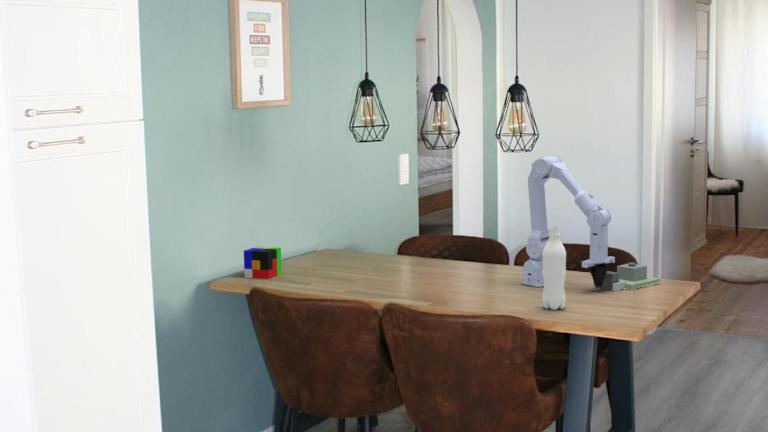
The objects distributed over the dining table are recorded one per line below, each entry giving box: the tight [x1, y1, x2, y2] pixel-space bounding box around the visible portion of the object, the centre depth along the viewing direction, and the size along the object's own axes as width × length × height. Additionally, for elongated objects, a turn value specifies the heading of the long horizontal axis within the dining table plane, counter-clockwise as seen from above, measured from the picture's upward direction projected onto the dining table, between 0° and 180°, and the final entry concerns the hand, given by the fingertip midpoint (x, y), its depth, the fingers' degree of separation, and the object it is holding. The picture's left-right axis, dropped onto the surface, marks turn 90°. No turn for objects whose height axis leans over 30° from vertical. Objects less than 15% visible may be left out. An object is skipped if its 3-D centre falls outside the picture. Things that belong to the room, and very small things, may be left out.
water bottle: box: [541, 225, 567, 311], centre depth 290 cm, size 7×7×25 cm
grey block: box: [598, 270, 619, 291], centre depth 318 cm, size 4×5×6 cm
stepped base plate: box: [593, 261, 661, 292], centre depth 323 cm, size 21×13×7 cm, turn 129°
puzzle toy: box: [243, 246, 283, 280], centre depth 352 cm, size 10×10×10 cm
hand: (598, 286), depth 315 cm, fingers closed
